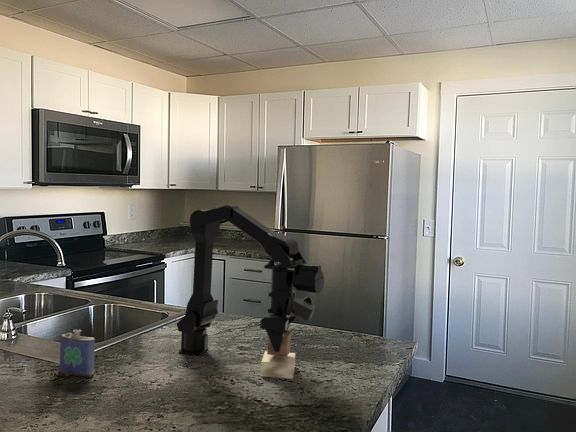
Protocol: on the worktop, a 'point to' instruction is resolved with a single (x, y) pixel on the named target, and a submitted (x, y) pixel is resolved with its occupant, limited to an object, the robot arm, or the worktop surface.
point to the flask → (77, 354)
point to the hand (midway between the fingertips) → (279, 348)
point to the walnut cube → (284, 346)
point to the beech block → (278, 366)
